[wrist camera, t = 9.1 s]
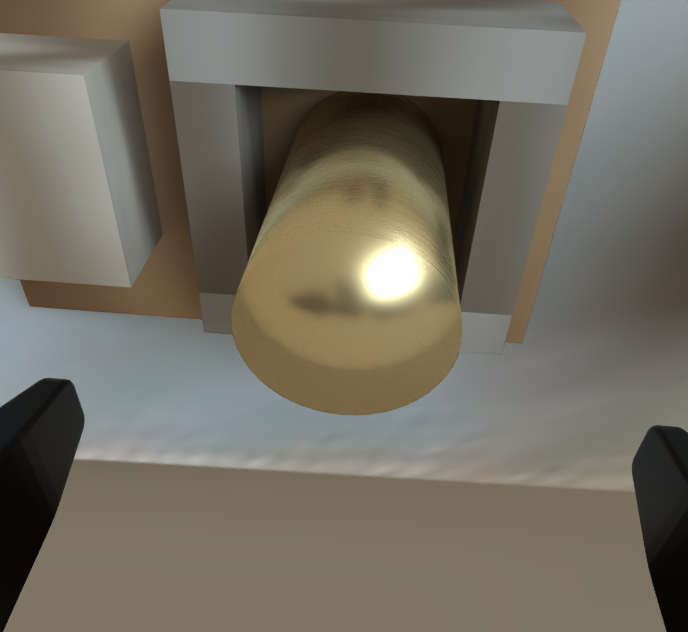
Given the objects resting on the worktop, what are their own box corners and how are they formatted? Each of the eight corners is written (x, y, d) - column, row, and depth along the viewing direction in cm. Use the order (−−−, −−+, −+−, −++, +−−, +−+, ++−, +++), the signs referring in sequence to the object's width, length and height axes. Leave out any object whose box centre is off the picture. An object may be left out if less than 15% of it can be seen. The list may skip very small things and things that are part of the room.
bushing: (452, 91, 16) (480, 244, 10) (432, 232, 19) (445, 423, 13) (291, 82, 17) (221, 226, 10) (294, 223, 19) (240, 406, 13)
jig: (628, -99, 15) (698, -78, 11) (515, 317, 23) (536, 404, 19) (-89, -134, 16) (-232, -124, 12) (48, 282, 24) (-14, 361, 20)
